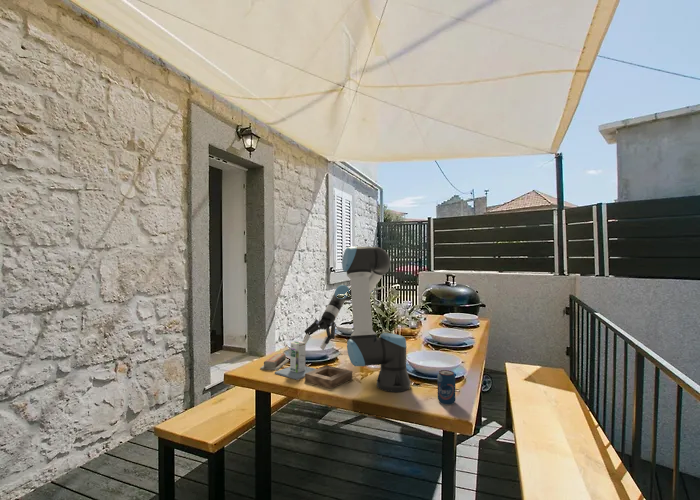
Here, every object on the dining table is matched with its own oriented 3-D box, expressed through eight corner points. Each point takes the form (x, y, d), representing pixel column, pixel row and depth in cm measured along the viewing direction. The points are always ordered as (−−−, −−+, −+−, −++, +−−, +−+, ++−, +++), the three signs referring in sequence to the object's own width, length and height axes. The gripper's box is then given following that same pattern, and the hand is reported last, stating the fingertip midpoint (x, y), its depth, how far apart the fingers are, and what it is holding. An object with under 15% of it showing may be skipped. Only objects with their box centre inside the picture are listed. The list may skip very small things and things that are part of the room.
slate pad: (319, 371, 179) (319, 369, 179) (297, 380, 166) (297, 378, 166) (297, 365, 189) (297, 364, 189) (274, 373, 176) (274, 371, 176)
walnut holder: (352, 378, 168) (352, 371, 168) (331, 388, 155) (331, 380, 155) (326, 372, 178) (326, 365, 178) (305, 381, 165) (305, 373, 165)
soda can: (438, 405, 138) (438, 374, 138) (436, 398, 145) (436, 369, 145) (456, 406, 137) (456, 375, 137) (454, 399, 143) (454, 369, 144)
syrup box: (289, 370, 177) (289, 342, 178) (298, 368, 182) (298, 340, 182) (296, 373, 174) (296, 344, 174) (305, 370, 178) (306, 342, 178)
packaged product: (277, 361, 181) (260, 360, 183) (277, 371, 181) (259, 370, 183) (289, 352, 199) (273, 351, 201) (289, 361, 199) (273, 360, 200)
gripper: (350, 321, 194) (333, 354, 182) (316, 316, 209) (298, 347, 196) (344, 312, 190) (327, 346, 177) (310, 309, 205) (292, 339, 192)
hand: (312, 346), depth 187 cm, fingers open, 13 cm apart
